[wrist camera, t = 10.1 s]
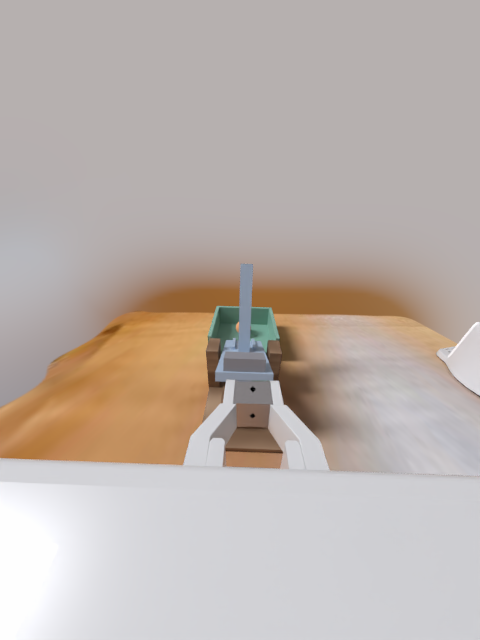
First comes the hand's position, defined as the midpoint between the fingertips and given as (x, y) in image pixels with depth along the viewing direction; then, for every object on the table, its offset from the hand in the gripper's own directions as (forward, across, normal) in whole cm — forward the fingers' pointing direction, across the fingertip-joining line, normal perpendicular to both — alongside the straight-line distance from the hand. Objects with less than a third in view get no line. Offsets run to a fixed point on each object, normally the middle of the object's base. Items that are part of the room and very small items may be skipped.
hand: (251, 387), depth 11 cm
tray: (+26, +1, +14) cm, 30 cm away
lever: (+13, +1, +9) cm, 16 cm away
